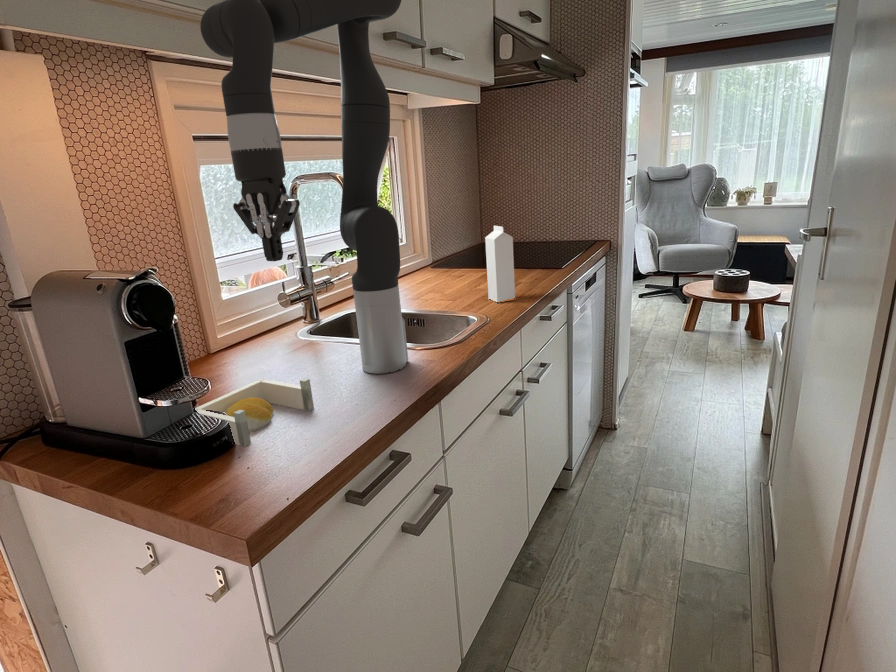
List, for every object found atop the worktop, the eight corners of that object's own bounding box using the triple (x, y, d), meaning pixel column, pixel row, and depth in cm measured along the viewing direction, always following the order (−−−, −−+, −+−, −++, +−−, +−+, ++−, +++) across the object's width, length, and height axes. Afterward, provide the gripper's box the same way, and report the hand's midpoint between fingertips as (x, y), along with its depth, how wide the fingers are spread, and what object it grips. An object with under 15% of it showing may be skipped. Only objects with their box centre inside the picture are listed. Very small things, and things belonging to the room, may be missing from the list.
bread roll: (275, 409, 102) (271, 388, 101) (270, 430, 94) (266, 408, 92) (227, 416, 101) (223, 395, 99) (218, 438, 92) (214, 415, 91)
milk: (505, 297, 172) (503, 224, 166) (515, 301, 167) (512, 225, 161) (488, 300, 170) (484, 226, 164) (497, 304, 165) (493, 227, 158)
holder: (264, 398, 107) (259, 370, 105) (314, 408, 100) (309, 379, 99) (193, 432, 94) (186, 401, 93) (245, 446, 88) (238, 413, 86)
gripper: (305, 143, 86) (321, 257, 91) (246, 150, 92) (264, 256, 97) (267, 144, 80) (286, 265, 85) (207, 151, 86) (228, 263, 91)
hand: (274, 260), depth 91 cm, fingers closed
